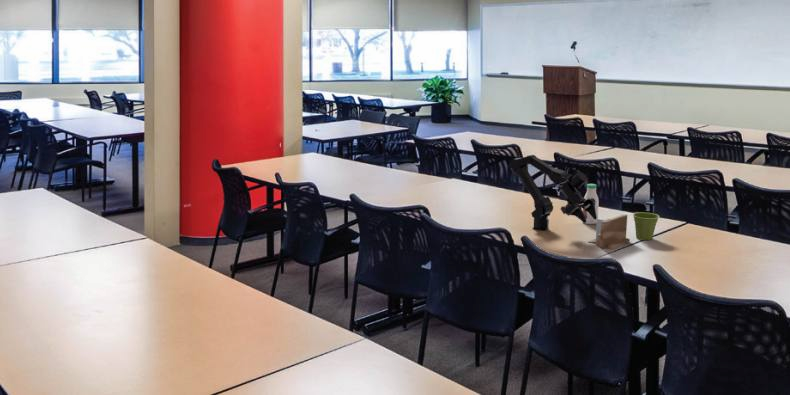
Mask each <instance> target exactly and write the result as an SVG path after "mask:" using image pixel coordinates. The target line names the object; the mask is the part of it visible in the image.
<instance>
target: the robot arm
mask: <svg viewBox="0 0 790 395" xmlns="http://www.w3.org/2000/svg"><path fill="white" fill-rule="evenodd" d="M528 165H530V166H532V167H534V168H535V169H537V170H538V171H539V172H542V173H543V174H544V175H546V176H547V177H548V179H549V180H550V181H551V183H553V184H555V185H557V192H558V193H560V192H562V193H563V194H564V196H565V197H566V198H567V199H566V202H567V204H566V205H563V206H561V207H560V211H561V212H562V214H563V215H566V216H574V217H576V218H577V219H578V220H580V221H581V222H582V221H583V222H584V223H583V222H582V223H583V224H585V223H586V218H585V216H584V214H583V209H584V211H587V212H588V213H589V214H590V215H591V216H592V217H593V218H594V219H597V216H596V210H595V202H596V201H595V199H594V198H589V199H587V200H586V199H585V198H584V197H583V196H582V195H581V191H578V190H577V189H579V188H581V187H582V186H583V185H584V184H586V182H588V177H587V175H586V174H585V173H583V172H582V171H580V170H579V169H578V170H575V171H574V172H573V174H569V173H568V172H567V171H565V170H562V169H561V168H560V169H559V168H555V167H553V166H551V165H550V164H548V163H547V162H545V161H543V160H542V159H540V158H539V157H537V156H536V155H534V154H530V155H527V156H524V157H516V158H512V159H511V160H510V161H509V167H510V170H511V171H513V173H514V174H516V175H517V176H518V177H519V178H520V179H521V181H522V183H523V184H524V186H525V187H526V189H527V191H528V193H529V195H530V196H531V197H532V200H533V204H534V205H533V206H534V210H533V211H532V212H530V213H531V218H533V227H532V230H538V231H547V230H548V229H549V227H550V220H549V216H551V213H552V212H553V211H554V205H553V201H552V200H551V199H550V197H549V196H546V197H545V196H544V195H543V194H542V192H541V190H540V189H539V187H538V185H537V183H536V182H535V180H534V179H533V177H532V176H531V174H530V172H529V166H528ZM560 184H561V185H560ZM584 201H585V202H584Z"/></svg>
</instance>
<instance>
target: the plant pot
mask: <svg viewBox="0 0 790 395" xmlns="http://www.w3.org/2000/svg"><path fill="white" fill-rule="evenodd" d="M632 216H633V220H634V225H635V226H634V228H635V237H636V239H638V240H640V241H641V240H643V241H647V240H648V241H651V240H653V238H654V233H655V229H656V226H657V223H658V220H659V219H660V215H659V214H657V213H652V212H640V211H639V212H634V213H633V214H632Z"/></svg>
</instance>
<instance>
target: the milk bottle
mask: <svg viewBox="0 0 790 395" xmlns="http://www.w3.org/2000/svg"><path fill="white" fill-rule="evenodd" d="M584 198H585V199H586V200H587V199H589V198H594V199H595V201H596V202H595V210H596V216H597V219H598V218H599V207H600V206H599V201H600V200H599V196H598V194H597V184H595V183H588V184H587V185H586V193H585V195H584V197H583V199H584ZM584 202H585V201H584ZM582 211H583V214H584V216H585V218H586V223H584V222H583V221H581V222H582V223H583V224H586V225H597V219H594V218H593V217H592V216H591V215H590V214H589V213H588V212H587V211H584V209H583V208H582Z"/></svg>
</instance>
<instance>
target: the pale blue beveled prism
mask: <svg viewBox="0 0 790 395" xmlns="http://www.w3.org/2000/svg"><path fill="white" fill-rule="evenodd" d="M608 219H611V218H609V217H604V216H602V217H598V219H597V224H596V228H595V239H596V241H597V235H598V234H601V222H602V221H605V220H608Z"/></svg>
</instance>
